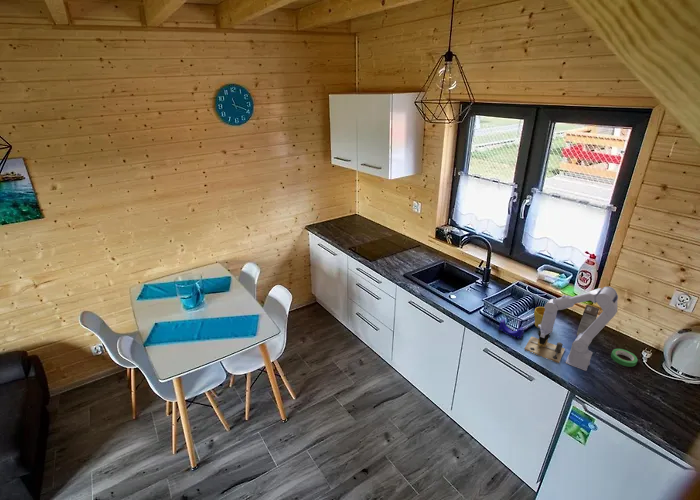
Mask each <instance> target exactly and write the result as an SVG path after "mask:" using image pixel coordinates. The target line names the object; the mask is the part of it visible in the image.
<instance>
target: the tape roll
mask: <svg viewBox="0 0 700 500" xmlns="http://www.w3.org/2000/svg"><path fill="white" fill-rule="evenodd" d="M619 355H622V356H625V357H627V358H629V359H630V360H626V359H623V358H621V357H620V356H619ZM610 357H611V359H612V360H613V362H615V363H617V364H618V365H621V366H623V367H630V368H632V367H635V366H636V365H637V363H638V358H637V356H636V355H635V353H633V352H630V351H628V350H626V349H623V348H614V349H613V350H612V351H611V354H610Z"/></svg>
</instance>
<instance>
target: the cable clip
mask: <svg viewBox="0 0 700 500" xmlns="http://www.w3.org/2000/svg"><path fill="white" fill-rule="evenodd" d="M499 322H500V323H499V327H498V331H500V330H501V329H502V331H503V332H502V331H501V332H502V333H505V332H506V333H505V334H507V333H508V334H507V335H509V334H510V335H509V336H511V335H512V337H514V336H515V337H514V338H516V337H517V336H519V337H518V338H519V339H521V338H522V337H523V335H524V332H525V331H524V327H523V326H520V327H519V328H518V329H519V330H518V329H516V330H517V331H512V329H510V327H508V326H507V324H506V320H505V319H503V318H502V319H501V320H500V321H499ZM518 338H517V339H518Z"/></svg>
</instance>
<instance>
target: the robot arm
mask: <svg viewBox="0 0 700 500" xmlns="http://www.w3.org/2000/svg"><path fill="white" fill-rule="evenodd" d="M618 300H619V295H618V292H617V291H616V289H615V288H614V287H611V286H604V287H598V288H595V289H593V290H590V291H587V292H584V293H580V294H577V295H574V296H571V295H565V294H564V295H562V296H561V297H558V298H556V297H554V298H551V299H549V300H548V301H547V302H546V303H545V305H544V306H543V307H544V308H545V312H544V315H543V319H542V323H541V325H540V324H539V325H538V327H540V328H539V330H538V332H537V335H538V339H539V343H540V344H542V345H544V344H545V342H546V340H547V339H548V338H549V339H550V337H551V335H550V334H552V332H554V331H553V330H554V326H555V325H554V324H555V322H556V319H557V313H558V311H561V310H562V311H563V310H565V309H569V308H572V307H574V306H575V304H580V303H584V302H585V303H586V302H588V301H590V302H592V303H593V304H597V305H598V306H599V307H600V308H601V310H602V312H600V314H599V315H597V318H596V320H595V321H594V322H593V323H592V324H591V325H590V326H589V327H588V328H587V330H585V331H584V332H583V333H580V334H579V335H578V336H577V337H576V338H575V340H574V341H573V342H572V343H571V348H570V351H569V354H568V355H567V358H566V360H565V364H567V365H569V366H572V367H575V368H577V369H580V370H583V371H585V372H587V370H588V368H589V366H590V364H591V360H592V359H591V358H592V355H593V351H591V350H589V346H590V344H591V343H592V341H593V339H595V337H596V336H597V335H598V334H599V333H600V332H601V330H603V328H605V326H607V324H609V322H610V321H611V320H612V319H613V318H614V317H615V316H616V314H617V313H618V302H619V301H618ZM538 327H537V328H538ZM549 339H548V340H549Z"/></svg>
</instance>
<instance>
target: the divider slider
mask: <svg viewBox="0 0 700 500" xmlns="http://www.w3.org/2000/svg"><path fill="white" fill-rule="evenodd" d="M549 339H550V337H549V338H548V339H547V340H546V342H545V344H544V345H542V344H540V343H539V340H538V345H540V347H539V349H538V351H540V349H541V347H542V346H543V347H546V345H547V342H548V341H549Z"/></svg>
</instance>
